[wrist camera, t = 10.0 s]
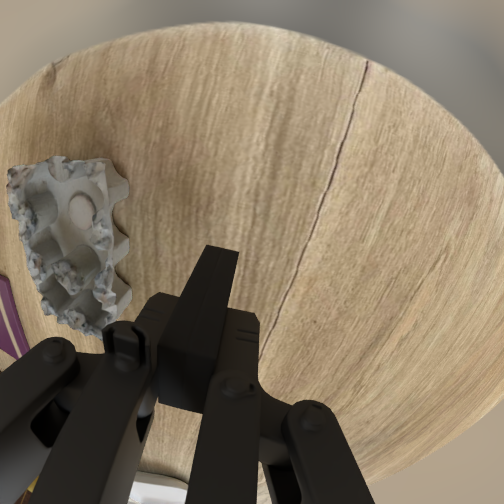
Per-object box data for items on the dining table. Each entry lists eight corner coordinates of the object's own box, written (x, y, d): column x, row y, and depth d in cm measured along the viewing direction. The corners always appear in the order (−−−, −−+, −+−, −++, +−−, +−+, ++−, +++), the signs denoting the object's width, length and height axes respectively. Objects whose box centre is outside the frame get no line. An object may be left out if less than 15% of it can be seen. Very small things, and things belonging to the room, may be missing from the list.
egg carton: (48, 150, 13) (3, 159, 9) (144, 158, 13) (104, 166, 10) (55, 292, 17) (25, 320, 13) (136, 319, 17) (112, 358, 14)
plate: (84, 452, 32) (78, 466, 28) (186, 471, 29) (182, 490, 26) (143, 493, 39) (140, 504, 36) (231, 504, 37) (230, 517, 33)
